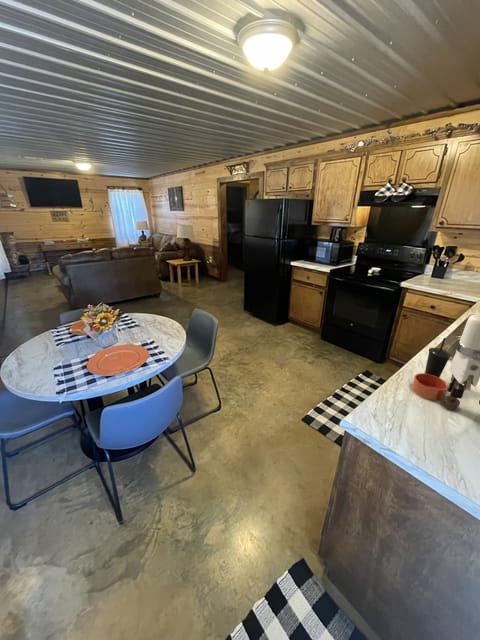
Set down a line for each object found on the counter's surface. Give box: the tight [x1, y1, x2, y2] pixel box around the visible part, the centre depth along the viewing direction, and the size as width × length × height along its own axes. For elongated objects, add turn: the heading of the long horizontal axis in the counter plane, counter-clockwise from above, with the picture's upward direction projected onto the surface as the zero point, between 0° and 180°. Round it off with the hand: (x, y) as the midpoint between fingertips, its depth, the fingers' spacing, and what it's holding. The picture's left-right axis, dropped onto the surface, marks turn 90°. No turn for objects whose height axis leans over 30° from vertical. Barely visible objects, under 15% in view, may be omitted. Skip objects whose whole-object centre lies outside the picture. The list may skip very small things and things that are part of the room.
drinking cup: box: [424, 337, 452, 378], centre depth 109 cm, size 8×8×20 cm
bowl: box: [411, 372, 449, 402], centre depth 105 cm, size 11×11×5 cm
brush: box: [441, 380, 463, 412], centre depth 95 cm, size 5×5×11 cm
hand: (454, 394), depth 95 cm, fingers closed on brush
